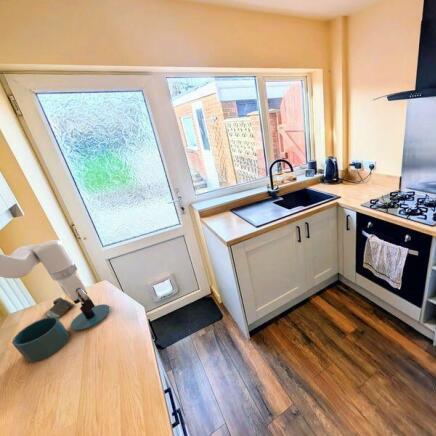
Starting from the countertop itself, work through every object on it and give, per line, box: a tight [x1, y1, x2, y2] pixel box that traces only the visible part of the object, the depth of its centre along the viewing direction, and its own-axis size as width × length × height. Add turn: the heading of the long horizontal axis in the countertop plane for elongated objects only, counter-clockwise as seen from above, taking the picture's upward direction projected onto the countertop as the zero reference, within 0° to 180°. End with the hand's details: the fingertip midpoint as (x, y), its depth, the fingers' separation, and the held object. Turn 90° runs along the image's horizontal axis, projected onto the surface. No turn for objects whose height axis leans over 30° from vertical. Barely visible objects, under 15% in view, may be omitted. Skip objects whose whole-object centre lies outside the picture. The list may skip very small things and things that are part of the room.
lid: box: [70, 304, 111, 332], centre depth 101 cm, size 13×13×7 cm
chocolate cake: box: [45, 296, 75, 318], centre depth 107 cm, size 10×7×12 cm
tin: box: [11, 316, 70, 363], centre depth 90 cm, size 12×12×8 cm
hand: (85, 305), depth 100 cm, fingers open, 9 cm apart
